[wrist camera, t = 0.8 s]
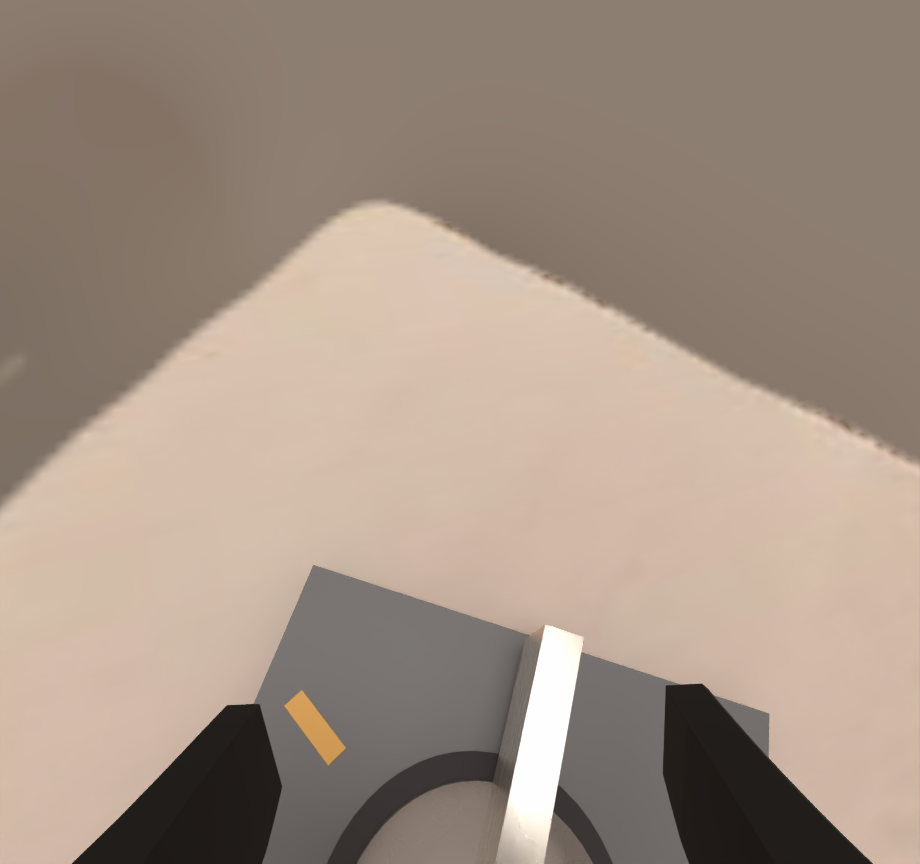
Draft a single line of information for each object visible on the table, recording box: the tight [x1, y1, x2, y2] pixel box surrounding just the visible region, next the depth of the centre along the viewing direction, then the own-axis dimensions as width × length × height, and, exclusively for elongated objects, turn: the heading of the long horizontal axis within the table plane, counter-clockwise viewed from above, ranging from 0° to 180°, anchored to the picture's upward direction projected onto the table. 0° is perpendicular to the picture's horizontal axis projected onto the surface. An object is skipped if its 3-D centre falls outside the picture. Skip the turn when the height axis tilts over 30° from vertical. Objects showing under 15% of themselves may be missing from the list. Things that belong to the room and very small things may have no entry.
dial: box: [356, 625, 593, 864], centre depth 20 cm, size 16×10×5 cm, turn 164°
